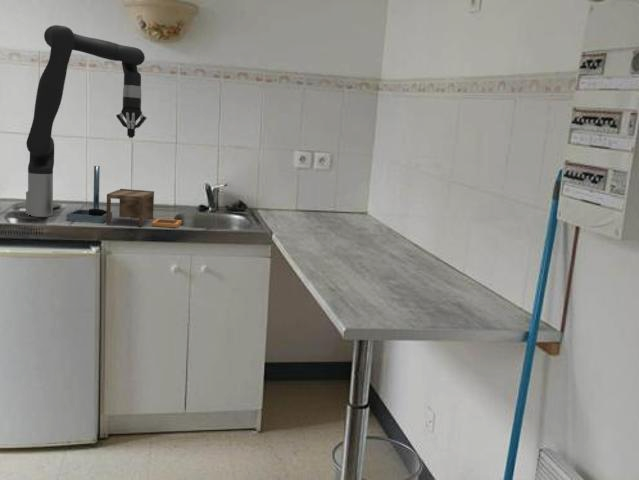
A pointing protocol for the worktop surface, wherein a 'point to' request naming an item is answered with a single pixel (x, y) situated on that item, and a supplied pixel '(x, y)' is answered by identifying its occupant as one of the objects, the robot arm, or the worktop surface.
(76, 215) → the stand with upright post
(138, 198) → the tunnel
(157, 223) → the tray
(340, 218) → the worktop surface
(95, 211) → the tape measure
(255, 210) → the worktop surface
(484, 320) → the worktop surface
